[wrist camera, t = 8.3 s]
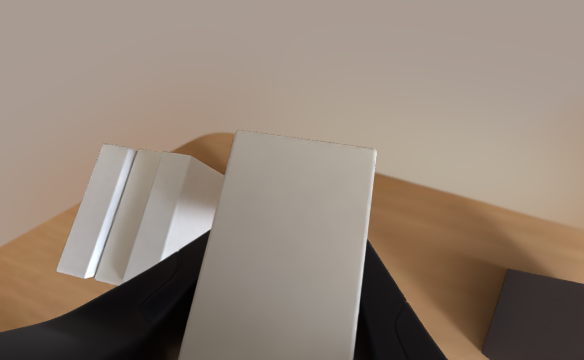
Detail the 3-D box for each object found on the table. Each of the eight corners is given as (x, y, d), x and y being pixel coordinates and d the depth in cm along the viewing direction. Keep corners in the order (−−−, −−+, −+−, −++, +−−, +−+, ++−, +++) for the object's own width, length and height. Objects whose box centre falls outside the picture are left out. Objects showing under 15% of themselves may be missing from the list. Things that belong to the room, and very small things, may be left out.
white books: (229, 264, 20) (150, 298, 10) (176, 252, 21) (54, 273, 11) (247, 188, 21) (191, 155, 12) (196, 179, 22) (103, 141, 12)
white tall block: (319, 293, 14) (338, 502, 3) (273, 283, 14) (154, 439, 4) (332, 205, 15) (378, 146, 4) (289, 198, 15) (234, 127, 5)
